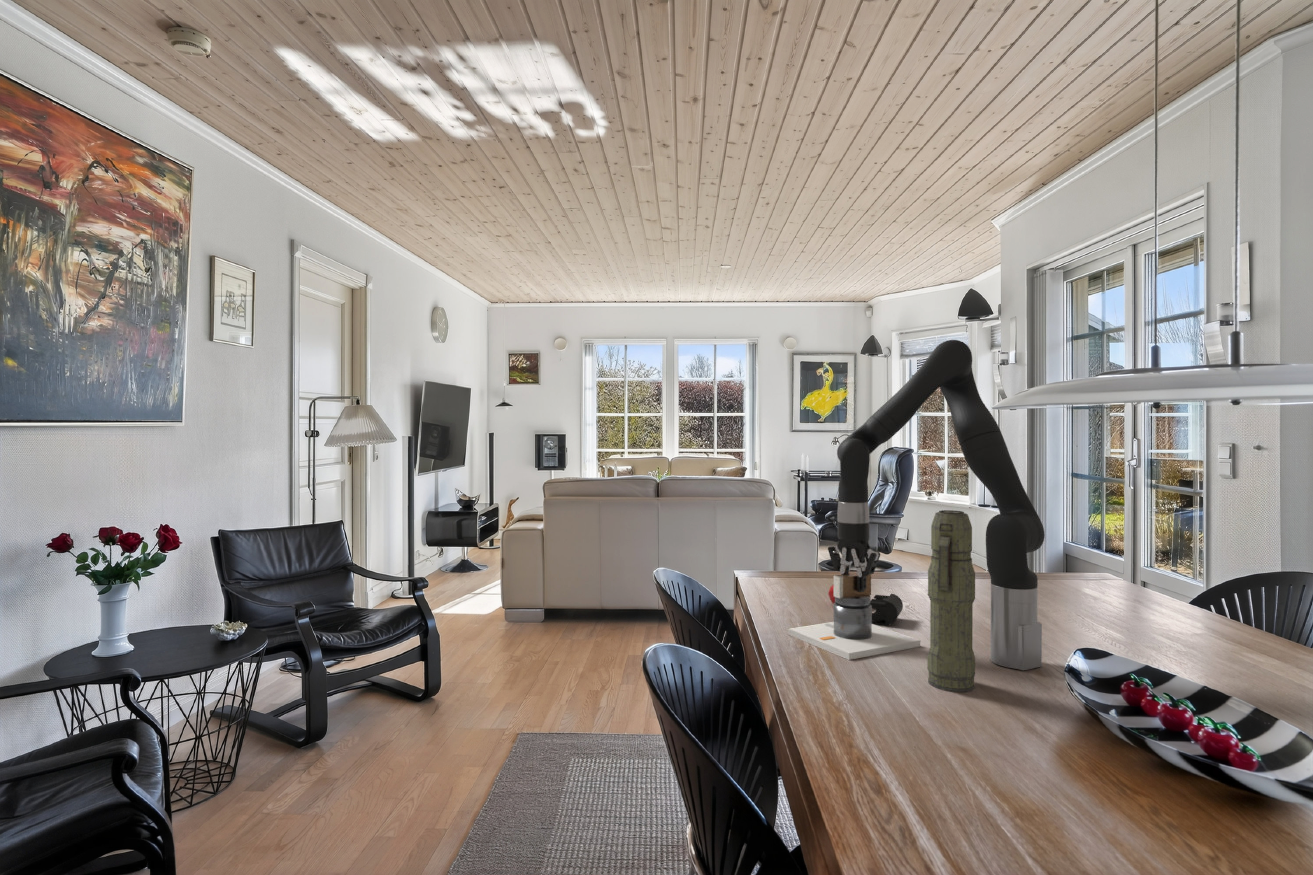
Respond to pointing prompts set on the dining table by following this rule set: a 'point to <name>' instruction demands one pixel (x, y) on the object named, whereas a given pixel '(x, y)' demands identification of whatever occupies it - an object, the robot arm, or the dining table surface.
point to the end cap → (886, 609)
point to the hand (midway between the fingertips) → (853, 589)
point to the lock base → (854, 646)
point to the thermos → (951, 603)
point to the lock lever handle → (851, 591)
